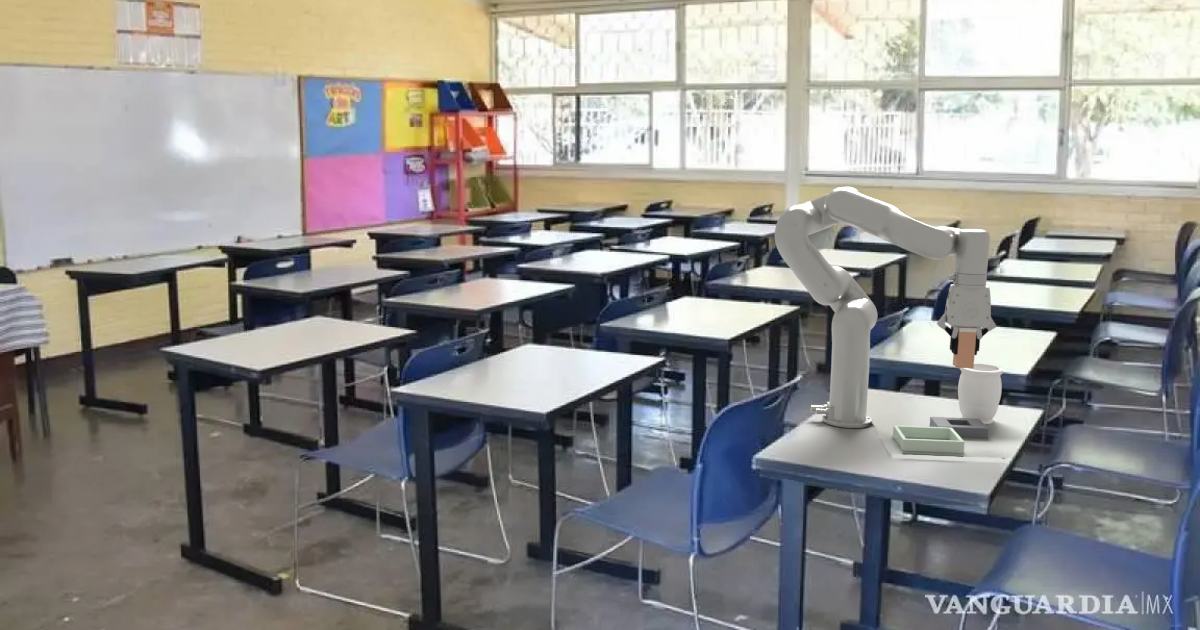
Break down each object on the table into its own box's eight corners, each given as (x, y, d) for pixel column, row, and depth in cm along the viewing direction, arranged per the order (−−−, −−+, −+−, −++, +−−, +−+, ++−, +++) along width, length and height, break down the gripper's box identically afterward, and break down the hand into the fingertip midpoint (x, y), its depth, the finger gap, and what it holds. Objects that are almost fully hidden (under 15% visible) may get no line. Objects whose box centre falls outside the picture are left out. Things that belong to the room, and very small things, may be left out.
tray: (902, 454, 242) (903, 439, 242) (892, 439, 254) (893, 425, 254) (963, 456, 241) (964, 441, 241) (950, 441, 253) (952, 427, 252)
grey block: (937, 440, 254) (938, 426, 254) (929, 430, 263) (930, 416, 262) (987, 442, 253) (988, 428, 253) (977, 432, 262) (978, 418, 261)
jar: (992, 418, 275) (997, 363, 272) (1003, 429, 265) (1008, 372, 262) (951, 417, 276) (955, 362, 273) (960, 427, 266) (965, 370, 263)
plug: (956, 367, 253) (959, 327, 252) (952, 364, 257) (955, 324, 256) (973, 368, 253) (976, 328, 251) (969, 364, 257) (972, 325, 255)
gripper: (938, 281, 248) (932, 355, 252) (1009, 283, 247) (1003, 358, 250) (931, 277, 256) (925, 349, 259) (1000, 279, 254) (994, 351, 258)
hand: (964, 352), depth 255 cm, fingers closed on plug, 4 cm apart
